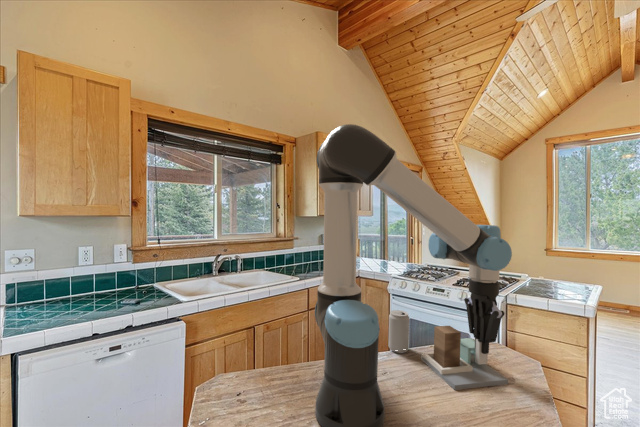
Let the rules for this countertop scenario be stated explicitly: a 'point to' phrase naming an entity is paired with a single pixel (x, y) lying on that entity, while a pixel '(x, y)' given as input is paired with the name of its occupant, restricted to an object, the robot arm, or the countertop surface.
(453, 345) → the block
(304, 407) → the countertop surface
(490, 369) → the jig board
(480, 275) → the robot arm
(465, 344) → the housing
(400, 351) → the beverage can
